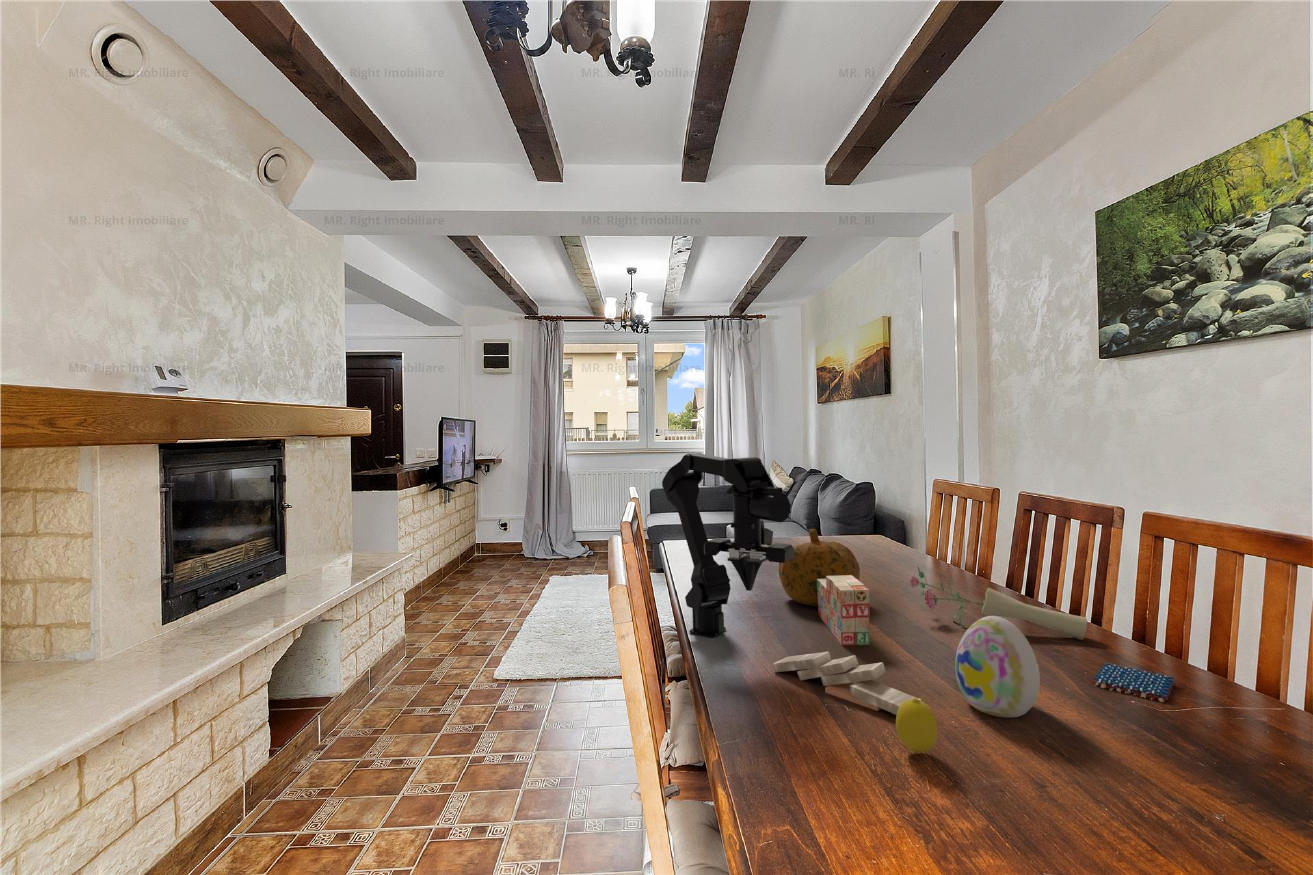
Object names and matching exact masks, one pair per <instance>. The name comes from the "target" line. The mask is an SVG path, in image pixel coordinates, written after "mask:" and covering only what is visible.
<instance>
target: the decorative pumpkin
mask: <svg viewBox="0 0 1313 875" xmlns="http://www.w3.org/2000/svg"><path fill="white" fill-rule="evenodd" d="M808 534H809V538H810V542H804V543H802V544H797V545H794V546H793V545H792V547H793V548H794V554H795V558H793V559H791V560H789V561H787V562H785V563H778V576H779V579H780V584H781V585H782V588H783V590H784V591H785V593H786V595H787V596H788V597H789V598H790V599H792V600H793V601H795V602H797V603H799V604H803V605H806V606H811V607H818V591H817V579H826V576H842V575H852V576H853V577H854V578H855V579H857V580H858V581H860V576H861V572H860V569H861V568H860V565H859V562H858V561H857V557H856V556H855V555H854V552H852V550H851V549H849V548H848V547H847V546H846V545H844V544H842V543H839V542H836V541H826V540H820V539H819V534H818V531H817V529H815V528H811V529H809V530H808Z"/></svg>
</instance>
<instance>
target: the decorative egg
mask: <svg viewBox="0 0 1313 875" xmlns="http://www.w3.org/2000/svg"><path fill="white" fill-rule="evenodd" d="M957 646H958V647H957V648H956V649H957V650H956V654H955V659H954V660H955V661H954V662H955V663H954V666H955V667H954V670H955V677H956V681H957V685H958V687H959V690H960V692H961V693H962V695H963V696H964V699H966V700H967V702H968V704H970V706H971V707H973V708H974V709H976V710H977V711H979V712H981V713H984V714H986V715H989V716H994V717H999V718H1018V717H1022V716H1025V714H1026V713H1028V712H1029V711H1030V710H1031V708H1032V707H1033V706H1034V704H1035V703H1036V701H1037V699H1038V696H1039V692H1040V686H1041V685H1040V683H1041V675H1040V669H1039V664H1038V660H1037V658H1036V654H1035V652H1034V650H1033V648H1032V646H1031V645H1030V642H1029V641H1028V639H1027V638H1026V636H1025V635H1024V634H1023V633H1022V631H1021V630H1020V629H1019V628H1018V627H1017V626H1016V625H1014V624H1013V623H1012V622H1010V621H1009V620H1007V619H1006V618H1005V617H1002V616H996V615H988V616H984V617H981V618H979V619H978V620H976V621H975V622H973V623H972V624H971V625H970V626H969V628H967V629H966V631H965V632H964V634H963V636H961V639H960V640H959V643H958V645H957Z"/></svg>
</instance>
